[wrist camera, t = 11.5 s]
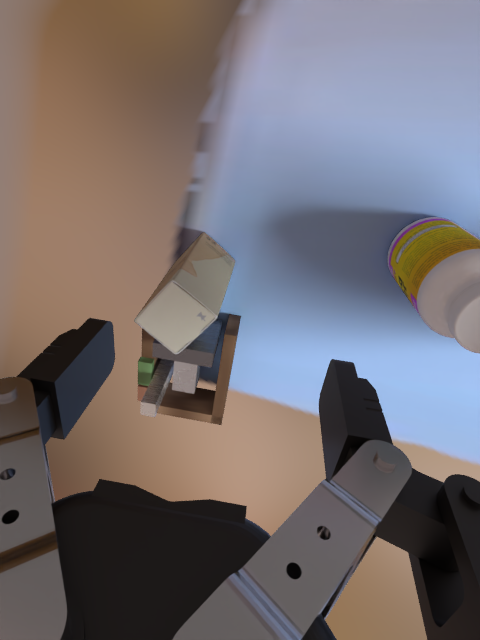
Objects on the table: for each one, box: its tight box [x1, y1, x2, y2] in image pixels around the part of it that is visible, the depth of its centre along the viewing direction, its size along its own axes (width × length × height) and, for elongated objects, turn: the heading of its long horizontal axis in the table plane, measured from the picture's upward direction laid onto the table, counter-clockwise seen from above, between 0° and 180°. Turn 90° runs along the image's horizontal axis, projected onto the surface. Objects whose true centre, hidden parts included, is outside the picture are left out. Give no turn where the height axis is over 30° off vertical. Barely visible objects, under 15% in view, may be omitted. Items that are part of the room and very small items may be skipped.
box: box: [134, 232, 235, 354], centre depth 31 cm, size 5×4×11 cm
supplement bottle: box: [387, 217, 480, 353], centre depth 28 cm, size 7×7×13 cm
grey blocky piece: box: [141, 320, 222, 417], centre depth 36 cm, size 6×7×8 cm
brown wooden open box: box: [138, 314, 241, 425], centre depth 39 cm, size 9×12×5 cm
